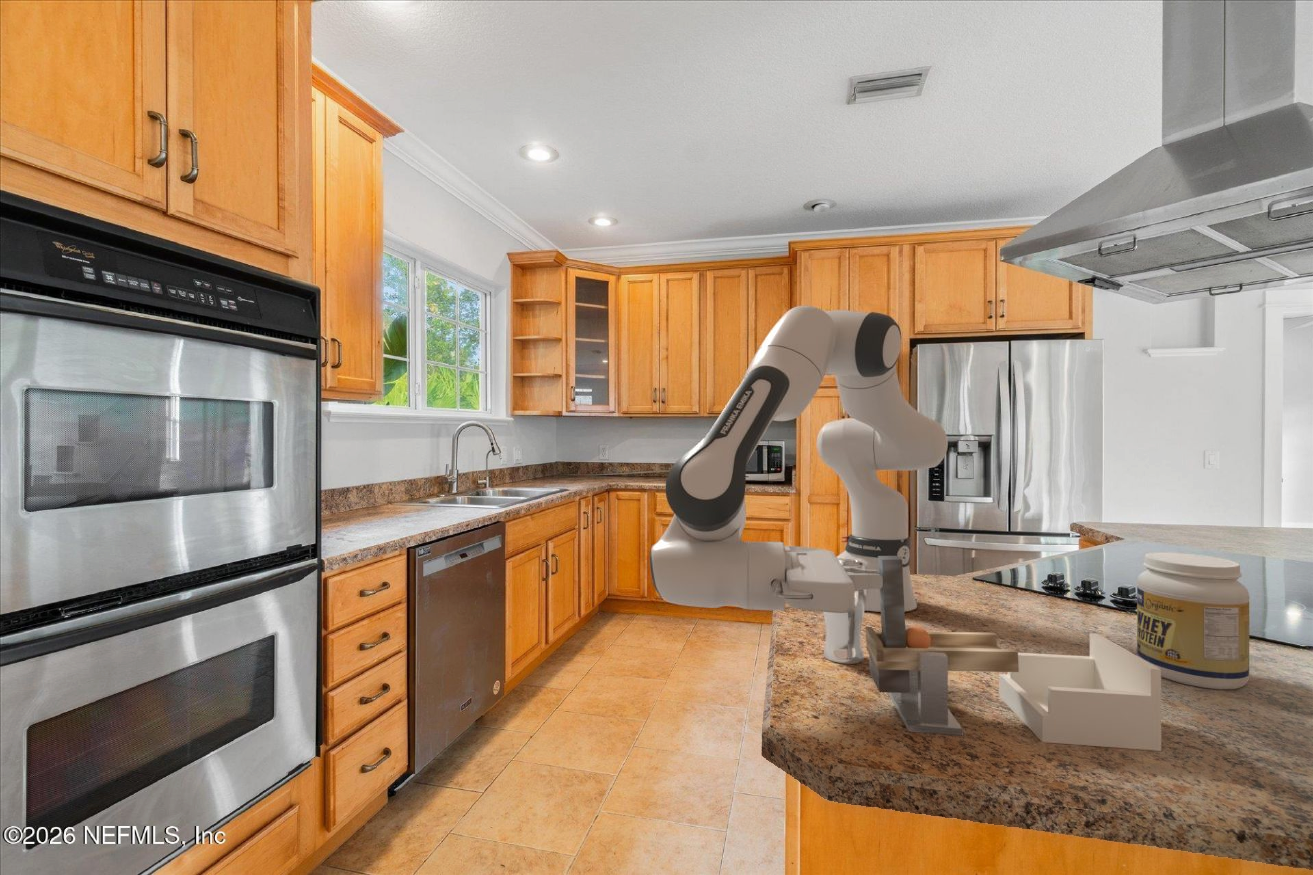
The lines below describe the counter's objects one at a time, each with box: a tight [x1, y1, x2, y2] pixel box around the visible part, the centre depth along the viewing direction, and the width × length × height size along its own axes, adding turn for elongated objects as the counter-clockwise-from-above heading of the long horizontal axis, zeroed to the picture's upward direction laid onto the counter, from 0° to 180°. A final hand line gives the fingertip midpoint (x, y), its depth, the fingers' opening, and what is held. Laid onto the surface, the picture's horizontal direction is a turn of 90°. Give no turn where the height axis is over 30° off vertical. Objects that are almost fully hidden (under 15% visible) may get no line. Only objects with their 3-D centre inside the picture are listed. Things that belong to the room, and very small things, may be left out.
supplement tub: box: [1136, 551, 1251, 690], centre depth 86 cm, size 12×12×17 cm
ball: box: [906, 625, 931, 648], centre depth 75 cm, size 3×3×3 cm
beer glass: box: [822, 558, 866, 665], centre depth 93 cm, size 7×7×15 cm
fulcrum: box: [887, 625, 964, 736], centre depth 75 cm, size 6×12×9 cm, turn 171°
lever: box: [865, 556, 1019, 693], centre depth 74 cm, size 16×8×16 cm, turn 81°
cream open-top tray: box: [998, 633, 1162, 752], centre depth 72 cm, size 12×12×9 cm
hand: (880, 579), depth 75 cm, fingers closed, pressing on lever
